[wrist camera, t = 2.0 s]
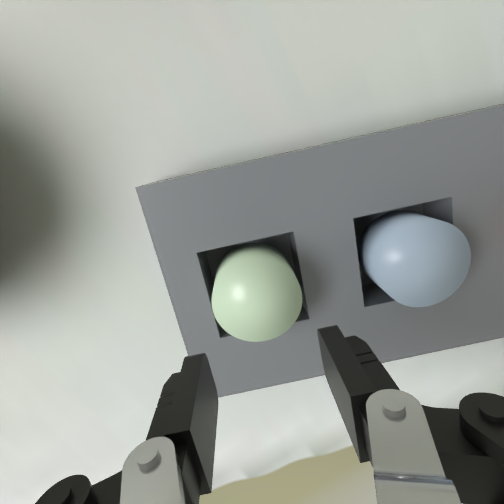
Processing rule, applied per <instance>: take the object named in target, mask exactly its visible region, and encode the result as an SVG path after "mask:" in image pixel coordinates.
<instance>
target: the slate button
mask: <svg viewBox="0 0 504 504" xmlns="http://www.w3.org/2000/svg"><path fill="white" fill-rule="evenodd" d="M358 258H359V263H360V265H361V268H362V270H363V271H364V272H365V274H366V275H367V276H368V277H369V278H370V279H371V280H373V281H374V282H375V283H376V284H377V285H378V286H379V287H380V288H381V289H383V290H384V291H385V292H386V293H387V294H388V295H389V296H390V297H391V298H393V299H394V300H395V301H397V302H399V303H400V304H403V305H406V306H410V307H427V306H431V305H434V304H437V303H439V302H441V301H443V300H445V299H446V298H448V297H449V296H451V295H452V294H453V293H454V292H455V291H456V290H457V289H458V288H459V287H460V286H461V284H462V283H463V281H464V280H465V278H466V276H467V274H468V271H469V268H470V263H471V250H470V246H469V243H468V240H467V238H466V237H465V235H464V234H463V233H462V232H461V231H460V230H459V229H458V228H457V227H455V226H454V225H452V224H450V223H448V222H445V221H441V220H438V219H435V218H431V217H428V216H425V215H421V214H418V213H415V212H411V211H405V210H398V211H392V212H389V213H386V214H384V215H382V216H380V217H378V218H377V219H376V220H374V221H373V222H372V223H371V224H370V225H369V226H368V227H367V229H366V230H365V232H364V233H363V235H362V237H361V240H360V243H359V247H358Z"/></svg>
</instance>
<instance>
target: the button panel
mask: <svg viewBox="0 0 504 504" xmlns="http://www.w3.org/2000/svg"><path fill="white" fill-rule="evenodd" d="M135 188H136V191H137V194H138V197H139V200H140V203H141V207H142V210H143V213H144V216H145V219H146V223H147V226H148V229H149V232H150V235H151V238H152V242H153V245H154V248H155V251H156V254H157V257H158V261H159V264H160V267H161V270H162V273H163V277H164V280H165V283H166V286H167V289H168V292H169V296H170V299H171V302H172V305H173V308H174V312H175V315H176V318H177V321H178V324H179V327H180V331H181V334H182V337H183V340H184V343H185V346H186V350H187V353H188V356H192V355H197V354H201V353H205V354H206V355H207V358H208V361H209V365H210V368H211V371H212V375H213V378H214V381H215V385H216V389H217V394H218V397H223V396H228V395H232V394H237V393H242V392H247V391H251V390H256V389H261V388H266V387H270V386H275V385H280V384H285V383H289V382H294V381H299V380H304V379H308V378H313V377H318V376H323V375H325V371H324V367H323V362H322V357H321V351H320V345H319V340H318V334H317V329H320V328H324V327H329V326H334V325H337V326H338V327H339V329H340V330H341V332H342V334H343V335H344V337H349V336H354V335H355V336H357V337H359V338H360V339H362V340H364V341H365V342H367V344H368V345H369V347H370V348H371V349H372V351H373V353H374V354H375V355H376V357H377V358H378V360H379V361H380V362H381V363H384V362H389V361H394V360H398V359H403V358H408V357H413V356H417V355H422V354H427V353H432V352H436V351H441V350H446V349H451V348H455V347H460V346H465V345H470V344H474V343H479V342H484V341H489V340H493V339H498V338H503V337H504V104H501V105H496V106H492V107H487V108H483V109H478V110H474V111H469V112H465V113H461V114H456V115H452V116H447V117H443V118H438V119H434V120H429V121H425V122H420V123H416V124H411V125H407V126H403V127H398V128H394V129H389V130H385V131H380V132H376V133H371V134H367V135H362V136H358V137H354V138H349V139H345V140H340V141H336V142H331V143H327V144H322V145H318V146H313V147H309V148H305V149H300V150H296V151H291V152H287V153H282V154H278V155H273V156H269V157H264V158H260V159H255V160H251V161H247V162H242V163H238V164H233V165H229V166H224V167H220V168H215V169H211V170H206V171H202V172H198V173H193V174H189V175H184V176H180V177H175V178H171V179H166V180H162V181H157V182H153V183H150V184H146V185H142V186H139V187H135ZM398 210H405V211H411V212H415V213H418V214H421V215H425V216H428V217H431V218H435V219H438V220H441V221H445V222H448V223H450V224H452V225H454V226H455V227H457V228H458V229H459V230H460V231H461V232H462V233H463V234H464V235H465V237H466V238H467V240H468V243H469V246H470V250H471V263H470V268H469V271H468V274H467V276H466V278H465V280H464V281H463V283H462V284H461V286H460V287H459V288H458V289H457V290H456V291H455V292H454V293H453V294H452V295H451V296H449V297H448V298H446V299H445V300H443V301H441V302H439V303H437V304H434V305H431V306H427V307H410V306H406V305H403V304H400V303H399V302H397V301H395V300H394V299H393V298H391V297H390V296H389V295H388V294H387V293H386V292H385V291H384V290H383V289H381V288H380V287H379V286H378V285H377V284H376V283H375V282H374V281H373V280H371V279H370V278H369V277H368V276H367V275H366V274H365V272H364V271H363V270H362V268H361V265H360V263H359V258H358V247H359V243H360V240H361V237H362V235H363V233H364V232H365V230H366V229H367V227H368V226H369V225H370V224H371V223H372V222H373V221H374V220H376V219H377V218H378V217H380V216H382V215H384V214H386V213H389V212H392V211H398ZM246 243H263V244H267V245H270V246H272V247H274V248H276V249H277V250H279V251H280V252H281V253H282V254H283V255H284V256H285V257H286V259H287V260H288V262H289V264H290V266H291V268H292V270H293V272H294V274H295V276H296V278H297V280H298V282H299V285H300V287H301V291H302V307H301V311H300V314H299V316H298V318H297V320H296V321H295V323H294V324H293V325H292V326H291V328H289V329H288V330H287V331H286V332H285V333H283V334H282V335H280V336H278V337H276V338H274V339H271V340H267V341H262V342H250V341H244V340H241V339H238V338H236V337H234V336H232V335H230V334H229V333H227V332H226V331H225V330H224V329H223V328H222V327H221V326H220V324H219V323H218V322H217V320H216V318H215V316H214V313H213V309H212V292H213V287H214V282H215V277H216V272H217V268H218V266H219V263H220V262H221V260H222V259H223V257H224V256H225V255H226V254H227V253H228V252H229V251H231V250H232V249H234V248H235V247H237V246H240V245H242V244H246Z"/></svg>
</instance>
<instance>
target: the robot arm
mask: <svg viewBox="0 0 504 504" xmlns="http://www.w3.org/2000/svg"><path fill="white" fill-rule="evenodd" d="M317 334H318V340H319V345H320V351H321V357H322V362H323V367H324V371H325V375H326V378H327V381H328V384H329V386H330V389H331V391H332V394H333V396H334V399H335V401H336V404H337V406H338V409H339V411H340V414H341V416H342V419H343V421H344V423H345V426H346V428H347V431H348V433H349V436H350V438H351V441H352V443H353V446H354V448H355V451H356V453H357V456H358V458H359V460H360V463H362V462H367V461H370V462H371V464H372V466H373V469H374V480H375V489H376V497H377V504H461V503H463V504H504V397H503V396H499V395H496V394H491V393H473V394H469V395H467V396H465V397H464V398H463V399H462V400H461V401H460V404H459V409H448V408H434V407H428V406H424V405H421V404H420V402H419V401H418V400H417V399H416V398H415V397H413V396H412V395H410V394H408V393H406V392H404V391H400V389H399V388H398V386H397V385H396V384H395V382H394V381H393V379H392V378H391V376H390V375H389V374H388V372H387V371H386V369H385V368H384V366H383V365H382V364H381V362H380V361H379V360H378V358H377V357H376V355H375V354H374V353H373V351H372V349H371V348H370V347H369V345H368V344H367V342H365V341H364V340H362V339H360V338H359V337H357V336H355V335H354V336H349V337H344V335H343V334H342V332H341V330H340V329H339V327H338V326H337V325H334V326H329V327H324V328H320V329H317ZM160 396H161V398H159V402H158V405H157V406H158V407H157V408H156V411H155V414H154V417H153V420H152V423H151V426H150V429H149V432H148V435H147V438H146V441H144V442H143V443H141V444H140V445H138V446H137V447H136V448H135V449H134V450H133V451H132V452H131V453H130V454H129V456H128V457H127V459H126V460H125V462H124V465H123V469H122V471H120V472H118V473H117V474H115V475H113V476H111V477H109V478H107V479H105V480H103V481H100V482H98V483H96V484H94V485H91V483H90V481H89V479H88V478H87V477H86V476H84V475H73V476H70V477H67V478H65V479H63V480H61V481H59V482H58V483H56V484H55V485H53V486H52V487H51V488H49V489H48V490H47V491H46V492H45V493H44V494H43V495H42V496H41V497H40V498H39V500H38V501H37V502H36V503H35V504H199V497H200V495H203V494H208V493H211V489H212V477H213V464H214V452H215V439H216V426H217V414H218V394H217V389H216V385H215V381H214V378H213V375H212V371H211V368H210V365H209V361H208V358H207V355H206V354H205V353H201V354H197V355H192V356H187V357H185V358H184V361H183V365H182V369H181V372H179V373H174V374H172V375H171V377H170V378H169V379H168V380H167V382H166V383H165V384H164V386H163V389H162V392H161V395H160Z"/></svg>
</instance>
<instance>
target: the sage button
mask: <svg viewBox="0 0 504 504" xmlns="http://www.w3.org/2000/svg"><path fill="white" fill-rule="evenodd" d="M301 307H302V291H301V287H300V285H299V282H298V280H297V278H296V276H295V274H294V272H293V270H292V268H291V266H290V264H289V262H288V260H287V259H286V257H285V256H284V255H283V254H282V253H281V252H280V251H279V250H277V249H276V248H274V247H272V246H270V245H267V244H263V243H246V244H242V245H240V246H237V247H235V248H234V249H232V250H231V251H229V252H228V253H227V254H226V255H225V256H224V257H223V259H222V260H221V262H220V263H219V266H218V268H217V272H216V277H215V282H214V287H213V292H212V309H213V313H214V316H215V318H216V320H217V322H218V323H219V324H220V326H221V327H222V328H223V329H224V330H225V331H226V332H227V333H229V334H230V335H232V336H234V337H236V338H238V339H241V340H244V341H250V342H262V341H267V340H271V339H274V338H276V337H278V336H280V335H282V334H283V333H285V332H286V331H287V330H288V329H289V328H291V326H292V325H293V324H294V323H295V321H296V320H297V318H298V316H299V314H300V311H301Z"/></svg>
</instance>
